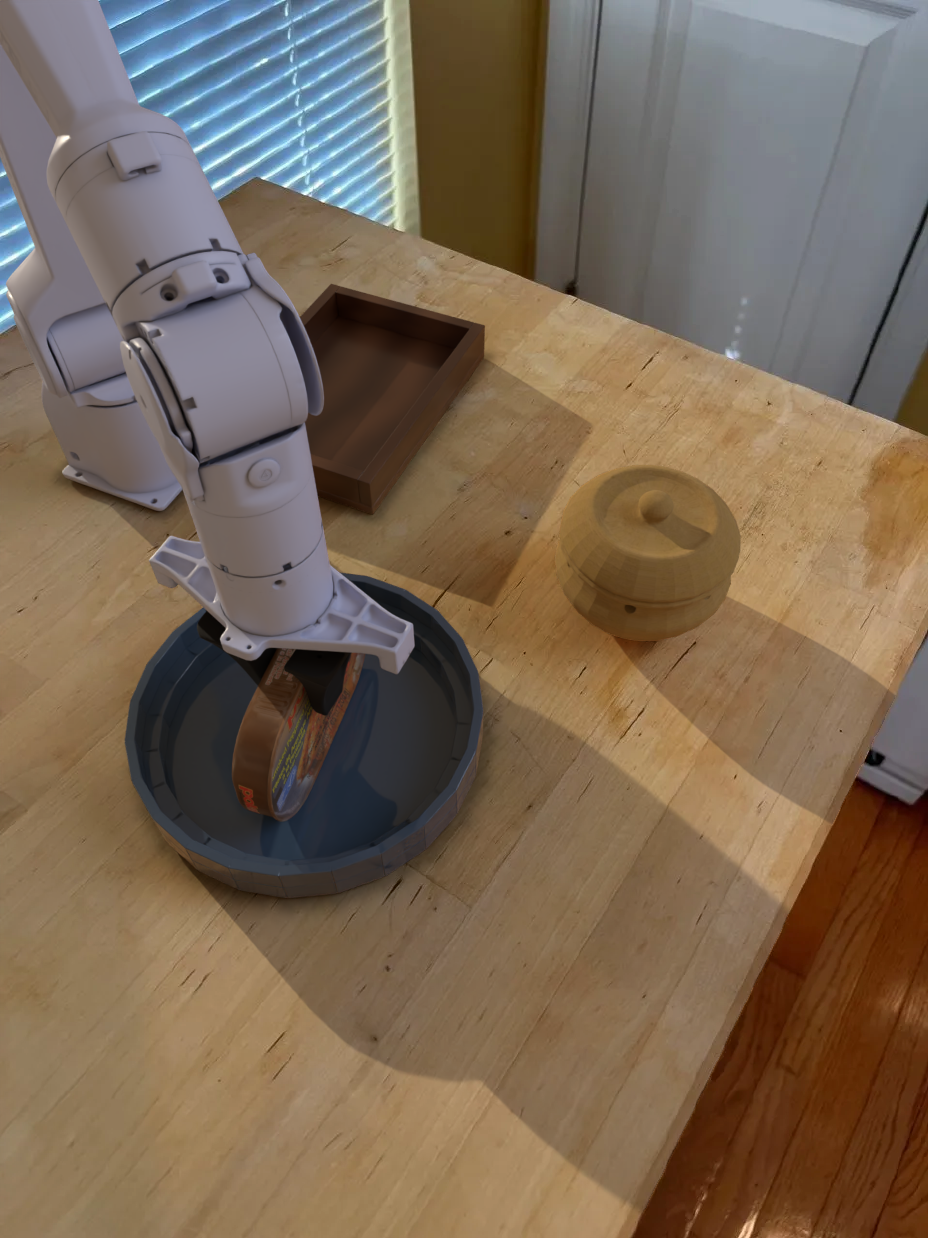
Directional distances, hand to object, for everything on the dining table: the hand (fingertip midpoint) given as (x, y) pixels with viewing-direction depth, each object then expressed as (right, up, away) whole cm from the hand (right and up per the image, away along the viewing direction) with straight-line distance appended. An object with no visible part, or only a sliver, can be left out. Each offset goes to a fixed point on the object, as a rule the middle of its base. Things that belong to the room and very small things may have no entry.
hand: (302, 690), depth 55 cm
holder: (0, +22, +24) cm, 32 cm away
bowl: (0, -3, +4) cm, 5 cm away
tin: (0, -3, +4) cm, 5 cm away
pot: (+21, +6, +11) cm, 25 cm away
